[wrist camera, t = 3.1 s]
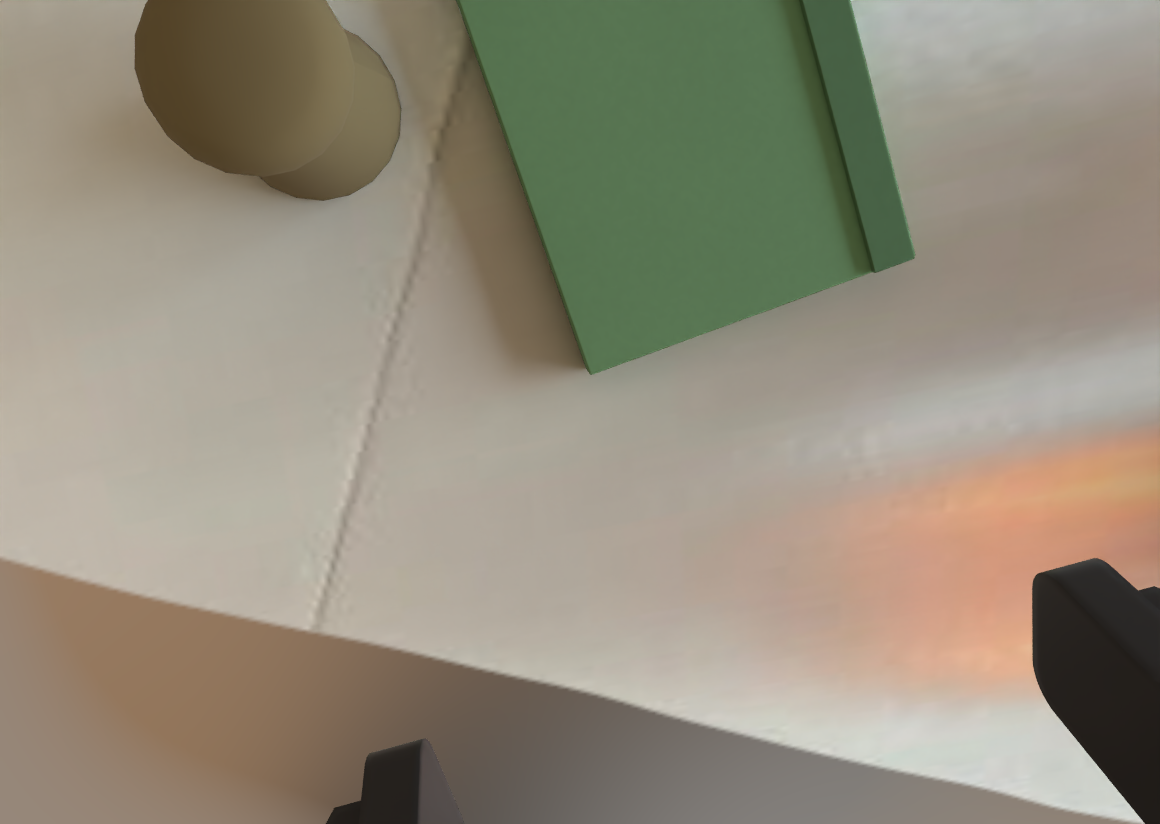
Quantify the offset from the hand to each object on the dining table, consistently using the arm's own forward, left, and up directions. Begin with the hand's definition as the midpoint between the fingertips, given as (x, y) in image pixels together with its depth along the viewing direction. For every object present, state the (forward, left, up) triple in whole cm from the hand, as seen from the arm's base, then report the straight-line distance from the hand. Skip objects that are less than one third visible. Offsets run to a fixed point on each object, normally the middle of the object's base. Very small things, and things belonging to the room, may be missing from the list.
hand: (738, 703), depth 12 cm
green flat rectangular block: (-13, -6, -24) cm, 28 cm away
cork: (-2, -13, -24) cm, 27 cm away
